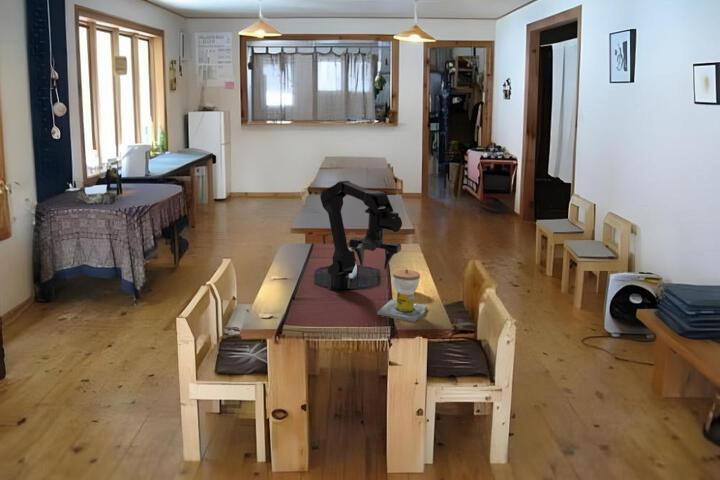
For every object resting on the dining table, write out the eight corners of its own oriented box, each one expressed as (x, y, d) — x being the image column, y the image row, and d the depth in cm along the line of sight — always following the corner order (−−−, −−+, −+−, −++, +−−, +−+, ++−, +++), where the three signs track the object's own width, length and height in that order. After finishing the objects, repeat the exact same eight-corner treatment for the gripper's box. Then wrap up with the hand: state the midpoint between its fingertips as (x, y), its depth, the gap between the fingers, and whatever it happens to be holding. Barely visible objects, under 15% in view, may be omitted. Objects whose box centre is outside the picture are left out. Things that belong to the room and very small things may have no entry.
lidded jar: (410, 298, 290) (412, 274, 287) (386, 292, 295) (387, 269, 293) (423, 292, 299) (425, 269, 296) (399, 286, 304) (401, 263, 302)
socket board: (377, 315, 269) (377, 311, 268) (390, 302, 283) (391, 299, 283) (417, 322, 264) (417, 318, 264) (429, 309, 279) (429, 305, 278)
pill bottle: (392, 311, 274) (394, 282, 271) (405, 308, 278) (407, 279, 275) (403, 316, 269) (406, 286, 267) (416, 313, 273) (418, 284, 271)
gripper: (344, 227, 273) (342, 269, 276) (393, 234, 267) (390, 276, 270) (355, 221, 283) (352, 262, 287) (402, 228, 277) (400, 269, 281)
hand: (373, 267), depth 281 cm, fingers open, 9 cm apart
